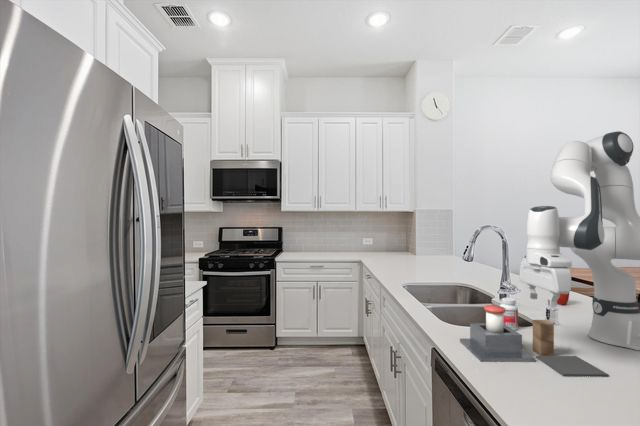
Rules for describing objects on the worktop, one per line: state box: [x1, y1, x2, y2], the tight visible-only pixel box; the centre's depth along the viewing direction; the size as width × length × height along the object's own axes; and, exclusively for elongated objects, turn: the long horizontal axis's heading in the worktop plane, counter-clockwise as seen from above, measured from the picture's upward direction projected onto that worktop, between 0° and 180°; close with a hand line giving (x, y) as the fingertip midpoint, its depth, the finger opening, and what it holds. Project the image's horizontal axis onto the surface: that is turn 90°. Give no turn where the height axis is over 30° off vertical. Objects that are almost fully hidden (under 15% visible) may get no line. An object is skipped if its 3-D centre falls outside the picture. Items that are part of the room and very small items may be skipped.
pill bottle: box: [499, 297, 519, 331], centre depth 132 cm, size 6×6×11 cm
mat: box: [535, 355, 610, 378], centre depth 99 cm, size 12×12×1 cm
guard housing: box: [459, 322, 536, 363], centre depth 110 cm, size 16×16×7 cm
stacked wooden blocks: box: [532, 319, 555, 356], centre depth 108 cm, size 4×4×10 cm
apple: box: [557, 292, 570, 306], centre depth 165 cm, size 6×6×8 cm
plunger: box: [483, 304, 505, 333], centre depth 110 cm, size 6×6×9 cm
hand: (542, 302), depth 108 cm, fingers open, 8 cm apart
